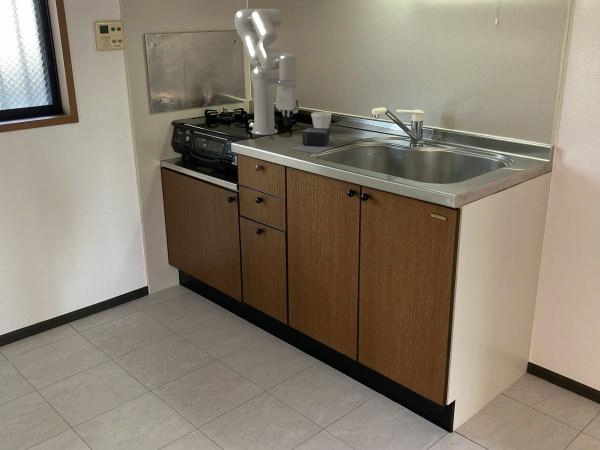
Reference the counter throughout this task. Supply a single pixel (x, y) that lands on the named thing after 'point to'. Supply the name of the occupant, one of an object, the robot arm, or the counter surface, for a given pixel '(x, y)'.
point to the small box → (316, 136)
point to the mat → (317, 147)
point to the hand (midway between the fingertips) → (287, 125)
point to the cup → (321, 119)
